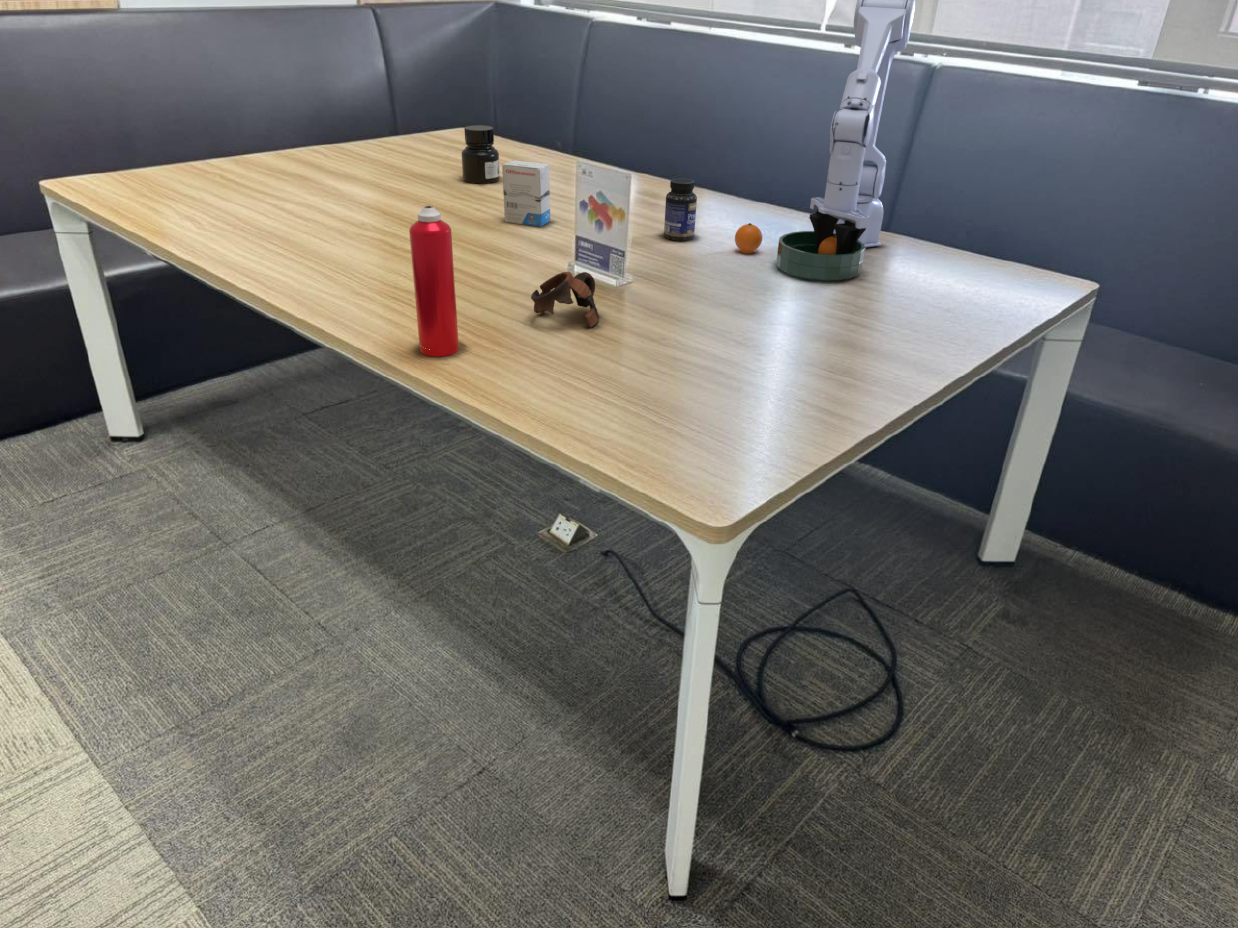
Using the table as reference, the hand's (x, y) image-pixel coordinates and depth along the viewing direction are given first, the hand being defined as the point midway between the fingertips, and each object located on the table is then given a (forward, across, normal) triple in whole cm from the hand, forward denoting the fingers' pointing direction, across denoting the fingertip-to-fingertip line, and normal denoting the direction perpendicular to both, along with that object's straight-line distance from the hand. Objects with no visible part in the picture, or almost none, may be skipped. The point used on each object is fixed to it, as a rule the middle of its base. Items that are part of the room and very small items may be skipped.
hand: (831, 257), depth 164 cm
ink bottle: (+2, -86, -40) cm, 95 cm away
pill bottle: (+2, -27, -17) cm, 32 cm away
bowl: (+2, 0, -3) cm, 3 cm away
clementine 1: (+2, -14, -9) cm, 17 cm away
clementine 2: (+1, 0, 0) cm, 1 cm away
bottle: (+2, +12, -76) cm, 77 cm away
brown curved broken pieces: (+2, +7, -54) cm, 55 cm away
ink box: (+2, -47, -42) cm, 63 cm away
